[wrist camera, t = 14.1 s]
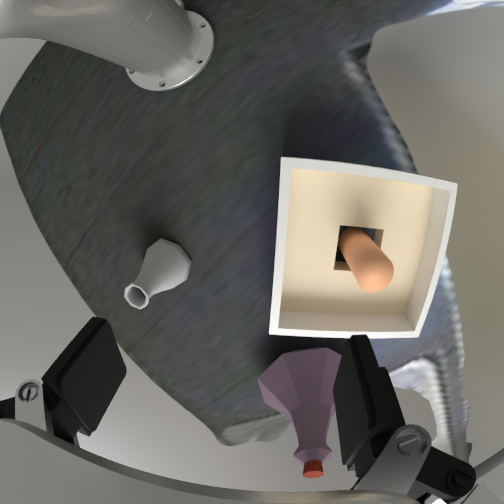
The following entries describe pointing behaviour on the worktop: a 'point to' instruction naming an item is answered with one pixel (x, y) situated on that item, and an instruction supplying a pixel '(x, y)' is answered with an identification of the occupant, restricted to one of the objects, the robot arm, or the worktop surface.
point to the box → (339, 273)
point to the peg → (365, 260)
